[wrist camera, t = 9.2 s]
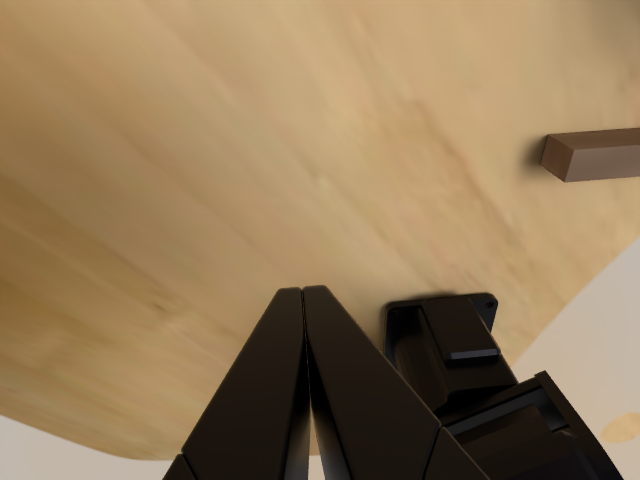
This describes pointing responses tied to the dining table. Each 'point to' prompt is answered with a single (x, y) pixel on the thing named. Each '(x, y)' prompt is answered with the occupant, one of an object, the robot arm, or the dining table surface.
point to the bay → (593, 155)
